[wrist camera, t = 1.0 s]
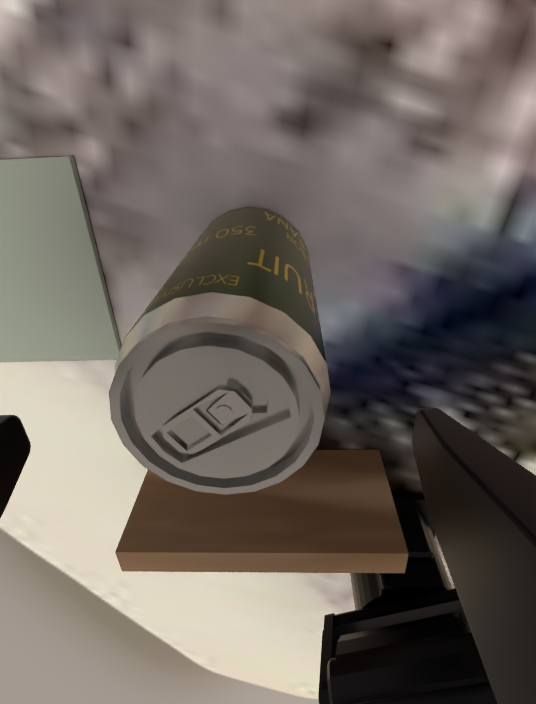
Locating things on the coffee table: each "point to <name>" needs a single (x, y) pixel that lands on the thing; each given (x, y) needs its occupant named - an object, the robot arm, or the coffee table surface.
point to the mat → (50, 267)
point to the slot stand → (272, 523)
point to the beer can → (227, 362)
